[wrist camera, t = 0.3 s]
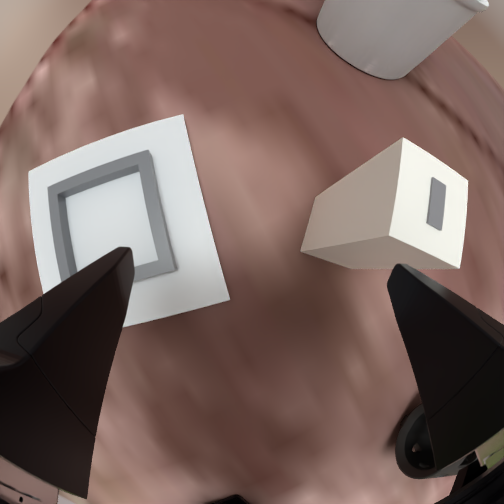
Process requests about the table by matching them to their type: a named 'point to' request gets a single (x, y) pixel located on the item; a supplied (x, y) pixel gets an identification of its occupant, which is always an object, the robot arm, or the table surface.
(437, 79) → the table surface
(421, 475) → the muzzle brake
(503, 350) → the robot arm
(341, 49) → the utensil holder
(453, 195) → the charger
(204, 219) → the dock plate
